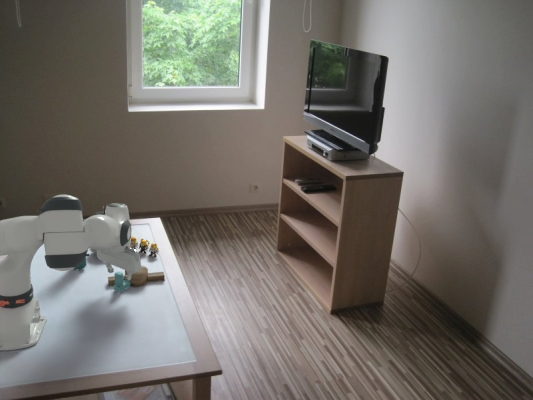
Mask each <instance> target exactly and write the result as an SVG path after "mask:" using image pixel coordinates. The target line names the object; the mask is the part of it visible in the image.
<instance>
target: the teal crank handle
mask: <svg viewBox="0 0 533 400" xmlns="http://www.w3.org/2000/svg"><path fill="white" fill-rule="evenodd" d="M123 275H124V272H122V271H116V272H115V273H114V276H115V285H114V286H113V291H114V292H118V293H121V292H124V291H125V290H126V289H128V288H131V286H130V282H129V281H127V280H123Z"/></svg>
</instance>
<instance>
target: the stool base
mask: <svg viewBox="0 0 533 400" xmlns="http://www.w3.org/2000/svg"><path fill="white" fill-rule="evenodd" d="M126 275H128V273H127V271H126V270H124V274H123V280H126V279H125V276H126ZM127 281H128V280H127ZM162 281H163V282H165V272H164V271H155V272H149V269H148V268H147V267H146V266H144V265H141V270H140V271H138V272H137V273H133V274H132V275H131V280H129V282H130V288H139V287H143V286H145V285H147V284H148V283H151V282H153V283H154V282H162ZM107 282H108V283H107V285H108V287H112V286H113V287H114V285H115V275H114V276H108V277H107Z"/></svg>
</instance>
